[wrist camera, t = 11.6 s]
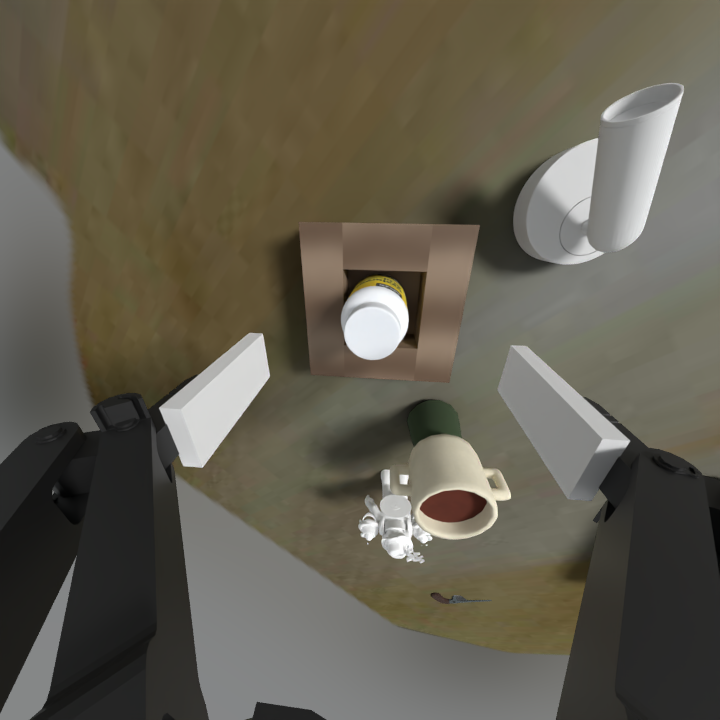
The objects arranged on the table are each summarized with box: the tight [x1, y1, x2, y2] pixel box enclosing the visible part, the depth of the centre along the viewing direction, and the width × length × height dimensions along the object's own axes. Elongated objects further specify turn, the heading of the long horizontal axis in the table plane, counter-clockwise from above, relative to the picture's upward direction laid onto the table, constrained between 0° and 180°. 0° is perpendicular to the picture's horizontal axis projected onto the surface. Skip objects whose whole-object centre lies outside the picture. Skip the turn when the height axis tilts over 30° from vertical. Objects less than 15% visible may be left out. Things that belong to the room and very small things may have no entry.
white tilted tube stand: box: [513, 83, 684, 265], centre depth 19 cm, size 9×10×10 cm
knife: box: [431, 593, 492, 604], centre depth 54 cm, size 14×4×1 cm, turn 104°
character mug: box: [390, 400, 511, 539], centre depth 29 cm, size 11×7×13 cm, turn 92°
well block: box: [299, 222, 480, 383], centre depth 26 cm, size 14×14×4 cm
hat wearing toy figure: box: [358, 469, 432, 563], centre depth 34 cm, size 9×4×12 cm, turn 93°
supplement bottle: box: [341, 273, 409, 360], centre depth 23 cm, size 5×5×10 cm
